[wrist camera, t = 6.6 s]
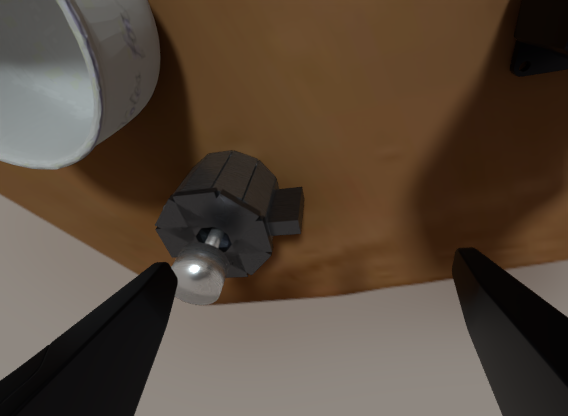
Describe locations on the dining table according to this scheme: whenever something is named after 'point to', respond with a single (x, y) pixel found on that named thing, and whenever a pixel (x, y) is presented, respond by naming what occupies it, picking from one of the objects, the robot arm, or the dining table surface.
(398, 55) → the dining table surface
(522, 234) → the dining table surface
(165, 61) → the dining table surface
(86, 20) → the teacup
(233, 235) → the octagonal grey mug
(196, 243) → the plunger
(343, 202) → the dining table surface
